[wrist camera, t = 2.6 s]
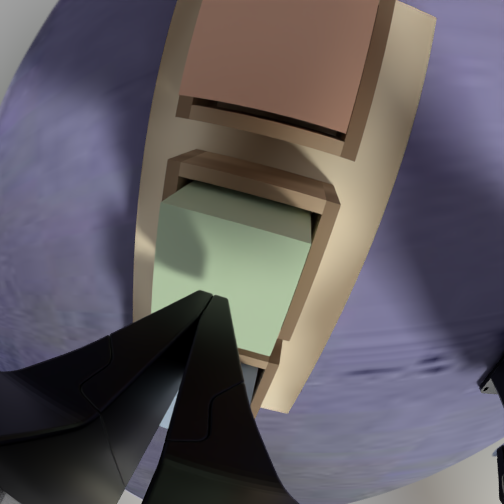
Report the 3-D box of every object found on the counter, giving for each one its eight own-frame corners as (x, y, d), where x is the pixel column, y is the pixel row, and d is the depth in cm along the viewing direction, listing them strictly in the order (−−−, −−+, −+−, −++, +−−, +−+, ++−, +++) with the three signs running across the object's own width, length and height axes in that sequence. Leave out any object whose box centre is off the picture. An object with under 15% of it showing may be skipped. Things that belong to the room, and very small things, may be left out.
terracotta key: (363, 17, 8) (381, -13, 5) (334, 129, 10) (346, 133, 7) (239, -10, 8) (217, -44, 5) (211, 98, 10) (178, 94, 7)
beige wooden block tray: (421, 27, 10) (465, -1, 6) (290, 392, 21) (283, 449, 16) (203, -23, 11) (163, -65, 6) (145, 348, 21) (115, 396, 17)
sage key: (310, 211, 11) (311, 243, 8) (278, 307, 13) (270, 356, 10) (194, 180, 11) (160, 202, 9) (179, 278, 13) (151, 319, 11)
